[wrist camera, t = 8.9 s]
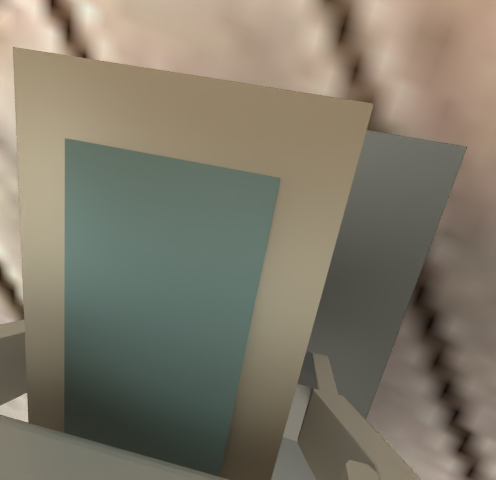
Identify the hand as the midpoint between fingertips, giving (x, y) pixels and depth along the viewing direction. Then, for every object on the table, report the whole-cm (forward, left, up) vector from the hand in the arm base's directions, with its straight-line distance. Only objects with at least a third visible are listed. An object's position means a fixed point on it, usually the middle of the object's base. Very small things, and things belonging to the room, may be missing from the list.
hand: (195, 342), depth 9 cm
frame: (0, +2, -2) cm, 3 cm away
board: (0, +3, -5) cm, 6 cm away
